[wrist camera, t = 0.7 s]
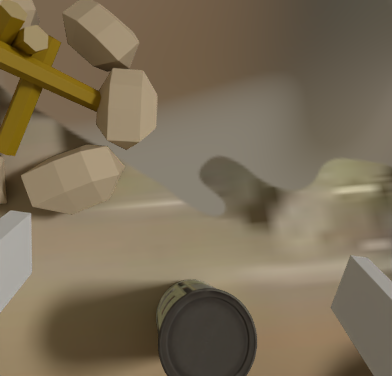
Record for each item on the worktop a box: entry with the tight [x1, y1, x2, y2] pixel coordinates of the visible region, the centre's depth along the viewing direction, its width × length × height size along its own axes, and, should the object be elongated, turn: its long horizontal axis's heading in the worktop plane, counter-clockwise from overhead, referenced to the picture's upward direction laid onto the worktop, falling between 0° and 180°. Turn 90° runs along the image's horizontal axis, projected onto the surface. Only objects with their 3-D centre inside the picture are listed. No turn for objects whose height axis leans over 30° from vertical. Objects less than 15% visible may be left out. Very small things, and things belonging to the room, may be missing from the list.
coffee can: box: [156, 279, 257, 376], centre depth 38 cm, size 10×10×14 cm
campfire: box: [0, 0, 157, 215], centre depth 40 cm, size 35×34×17 cm
